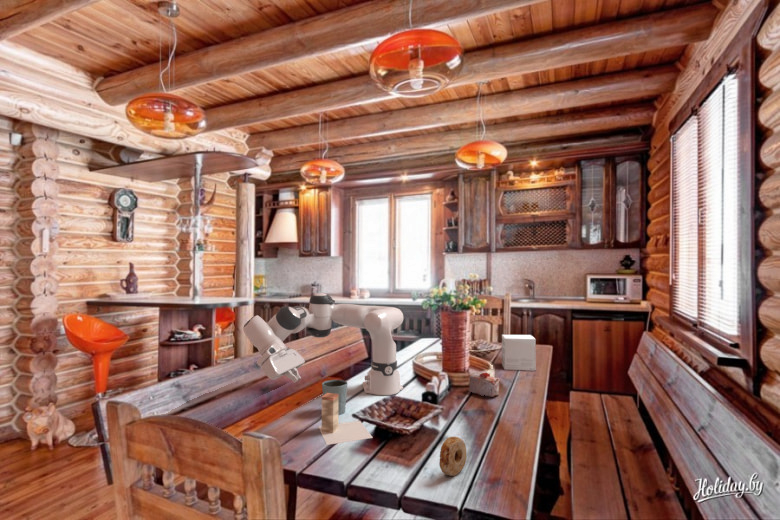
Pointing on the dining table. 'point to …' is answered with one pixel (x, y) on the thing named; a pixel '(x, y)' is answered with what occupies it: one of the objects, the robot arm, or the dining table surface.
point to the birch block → (330, 412)
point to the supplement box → (519, 352)
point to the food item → (484, 384)
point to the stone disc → (452, 456)
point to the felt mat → (346, 433)
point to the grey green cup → (337, 392)
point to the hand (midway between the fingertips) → (298, 380)
